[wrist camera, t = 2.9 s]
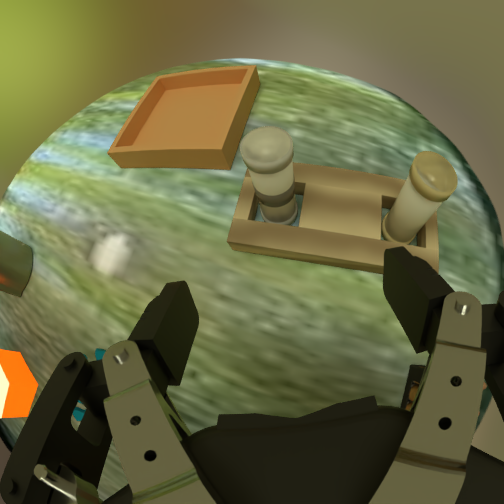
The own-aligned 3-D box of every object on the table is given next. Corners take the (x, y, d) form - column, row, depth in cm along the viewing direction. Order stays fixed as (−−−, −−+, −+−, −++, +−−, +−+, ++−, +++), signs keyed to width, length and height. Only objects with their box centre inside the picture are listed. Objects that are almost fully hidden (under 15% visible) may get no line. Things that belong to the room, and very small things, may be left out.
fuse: (412, 250, 25) (460, 199, 15) (379, 244, 26) (416, 187, 16) (412, 217, 26) (452, 157, 16) (380, 211, 27) (411, 146, 17)
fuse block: (428, 281, 23) (438, 275, 21) (233, 249, 28) (226, 241, 26) (426, 198, 26) (433, 186, 24) (253, 171, 31) (250, 158, 29)
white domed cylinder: (294, 231, 28) (288, 167, 18) (258, 226, 29) (234, 162, 19) (300, 199, 29) (295, 128, 19) (265, 195, 30) (246, 125, 20)
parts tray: (230, 169, 32) (221, 149, 28) (121, 168, 36) (107, 153, 33) (260, 84, 37) (256, 65, 34) (165, 91, 42) (157, 76, 38)
